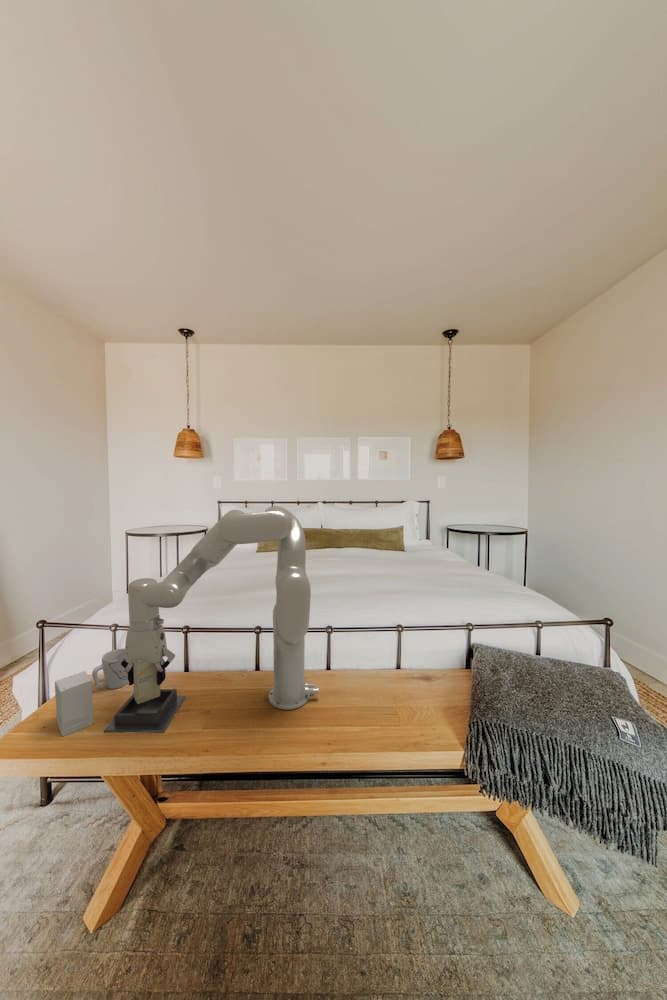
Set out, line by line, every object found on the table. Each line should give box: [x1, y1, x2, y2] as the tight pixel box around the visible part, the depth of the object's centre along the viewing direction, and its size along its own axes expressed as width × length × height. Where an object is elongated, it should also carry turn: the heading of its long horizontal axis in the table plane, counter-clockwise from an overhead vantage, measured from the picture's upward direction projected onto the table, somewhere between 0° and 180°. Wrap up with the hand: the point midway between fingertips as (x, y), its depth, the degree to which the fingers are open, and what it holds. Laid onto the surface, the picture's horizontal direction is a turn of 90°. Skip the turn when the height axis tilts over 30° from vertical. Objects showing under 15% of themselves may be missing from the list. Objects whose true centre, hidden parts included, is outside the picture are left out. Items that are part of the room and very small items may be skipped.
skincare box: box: [133, 660, 161, 704], centre depth 106 cm, size 6×4×12 cm
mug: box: [91, 648, 129, 690], centre depth 120 cm, size 11×8×10 cm
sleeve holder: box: [103, 688, 186, 734], centre depth 106 cm, size 16×15×4 cm
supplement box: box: [54, 671, 94, 737], centre depth 102 cm, size 7×7×13 cm
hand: (147, 682), depth 106 cm, fingers closed on skincare box, 7 cm apart
